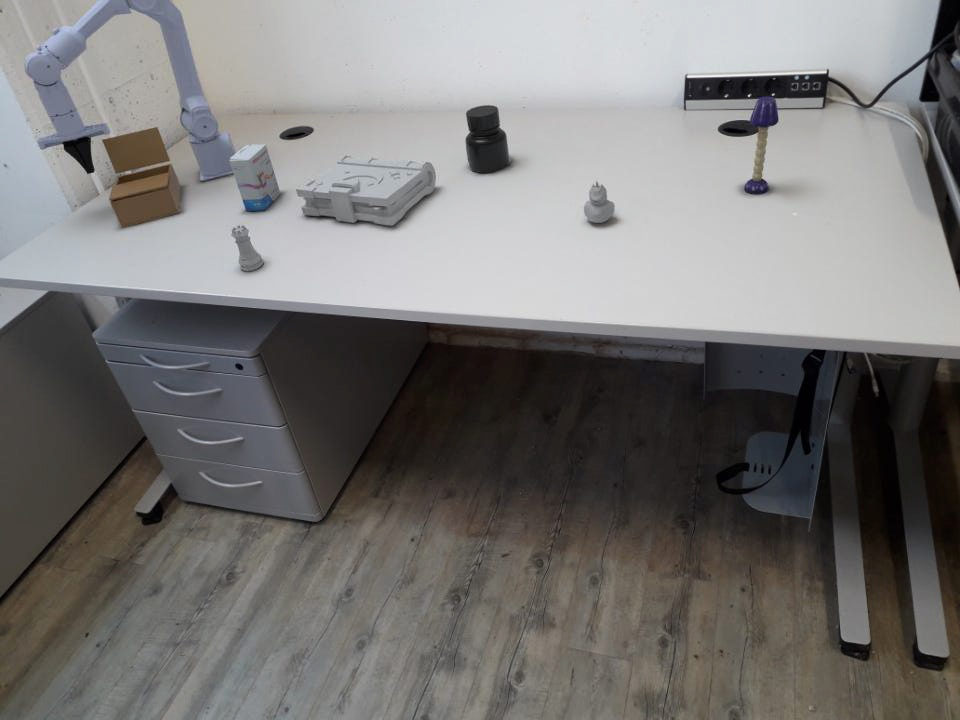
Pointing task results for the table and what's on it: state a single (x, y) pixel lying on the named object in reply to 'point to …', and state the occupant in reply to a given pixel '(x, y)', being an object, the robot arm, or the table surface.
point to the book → (367, 189)
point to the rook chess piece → (246, 250)
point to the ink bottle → (486, 140)
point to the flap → (136, 150)
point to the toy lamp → (761, 141)
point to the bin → (146, 195)
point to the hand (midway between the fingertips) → (91, 171)
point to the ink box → (255, 177)
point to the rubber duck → (598, 205)
